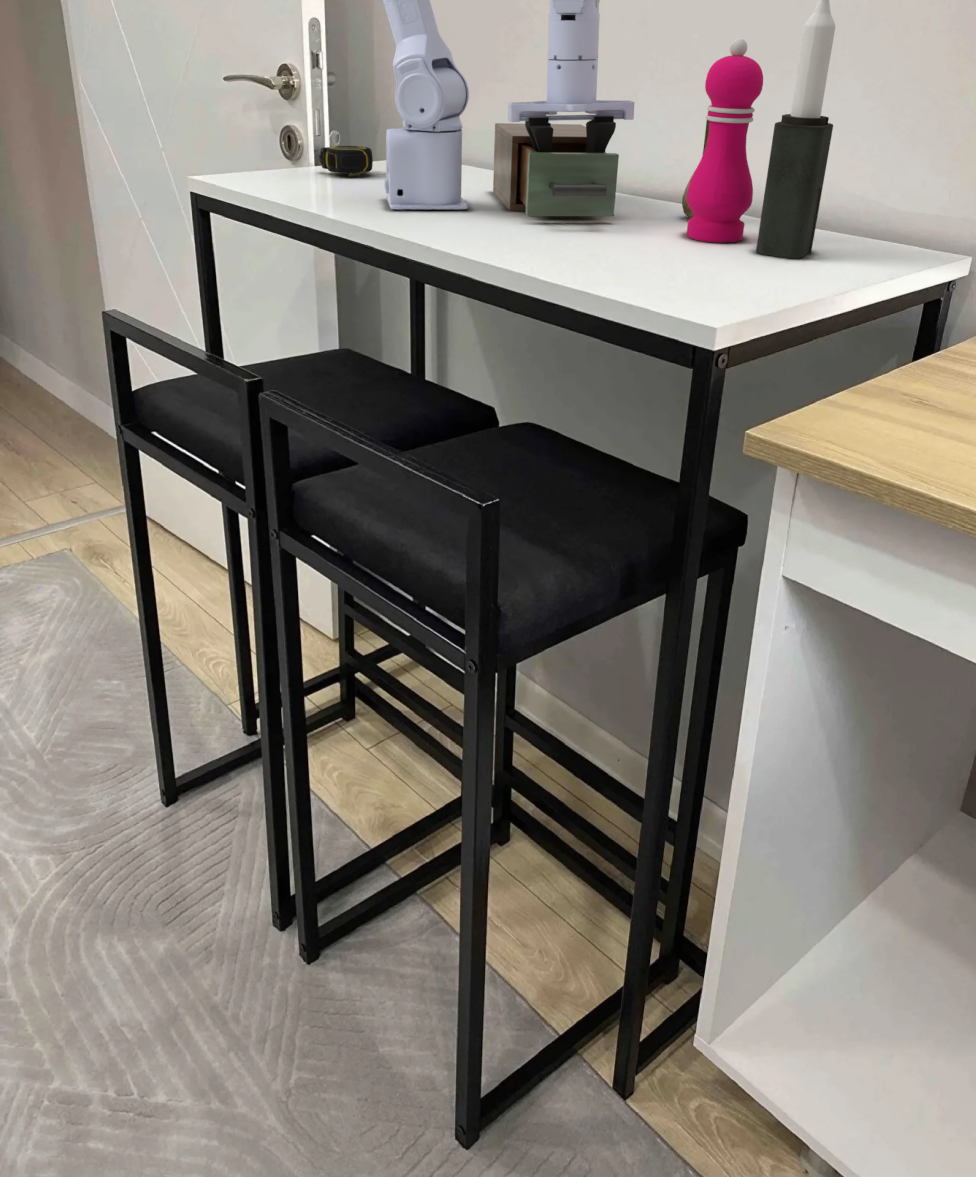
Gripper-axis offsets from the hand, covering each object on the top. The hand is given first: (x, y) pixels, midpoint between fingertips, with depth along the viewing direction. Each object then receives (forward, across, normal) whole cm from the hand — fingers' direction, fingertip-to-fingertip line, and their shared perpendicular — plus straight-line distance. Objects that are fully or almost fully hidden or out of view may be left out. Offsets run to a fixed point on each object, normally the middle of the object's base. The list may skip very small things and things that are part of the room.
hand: (568, 186), depth 126 cm
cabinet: (+3, -1, +11) cm, 11 cm away
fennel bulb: (+4, +16, -1) cm, 17 cm away
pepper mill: (+4, +14, -12) cm, 19 cm away
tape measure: (+2, -26, +33) cm, 42 cm away
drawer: (+3, -1, 0) cm, 3 cm away
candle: (+5, +19, -20) cm, 28 cm away
